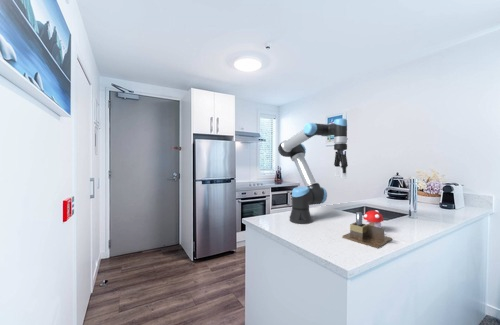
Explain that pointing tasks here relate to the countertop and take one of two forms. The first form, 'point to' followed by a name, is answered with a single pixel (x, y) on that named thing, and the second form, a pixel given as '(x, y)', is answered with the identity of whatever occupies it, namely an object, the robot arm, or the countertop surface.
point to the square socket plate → (367, 235)
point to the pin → (359, 219)
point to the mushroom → (374, 218)
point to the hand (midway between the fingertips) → (340, 177)
